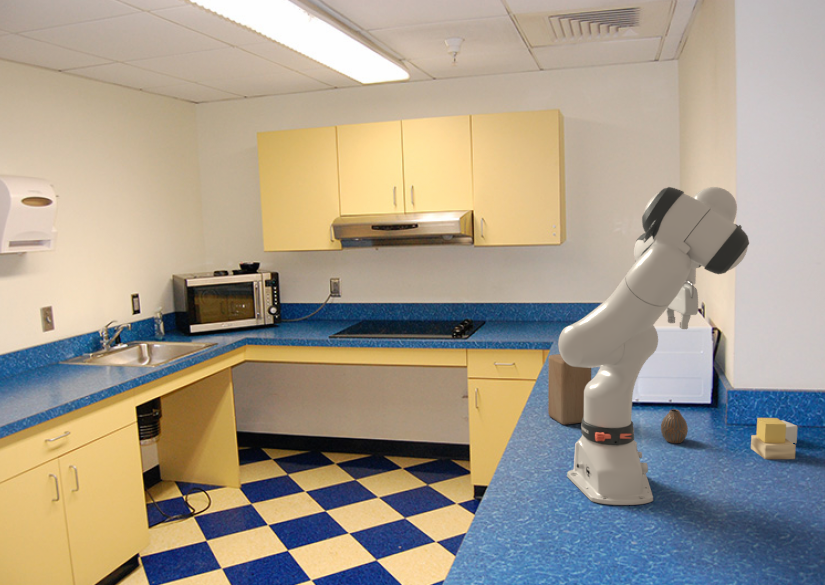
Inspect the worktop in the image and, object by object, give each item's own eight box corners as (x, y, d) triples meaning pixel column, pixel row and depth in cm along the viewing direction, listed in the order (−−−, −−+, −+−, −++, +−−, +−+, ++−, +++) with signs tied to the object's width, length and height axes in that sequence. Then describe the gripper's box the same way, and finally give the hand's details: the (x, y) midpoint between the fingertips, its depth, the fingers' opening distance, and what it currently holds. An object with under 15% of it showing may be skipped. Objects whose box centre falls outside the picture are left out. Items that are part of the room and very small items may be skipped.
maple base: (794, 460, 164) (795, 445, 163) (765, 460, 164) (765, 445, 164) (779, 449, 171) (780, 434, 171) (750, 449, 172) (751, 435, 171)
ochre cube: (785, 443, 165) (786, 424, 164) (764, 442, 165) (765, 423, 165) (776, 436, 170) (777, 418, 169) (756, 435, 170) (757, 417, 170)
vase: (665, 434, 183) (666, 405, 182) (690, 439, 179) (691, 409, 178) (657, 441, 178) (657, 411, 177) (682, 447, 174) (683, 416, 172)
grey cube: (796, 443, 174) (797, 425, 174) (781, 445, 173) (782, 427, 173) (782, 437, 179) (782, 420, 179) (767, 439, 178) (767, 422, 178)
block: (562, 426, 192) (563, 361, 190) (547, 416, 202) (547, 354, 200) (592, 422, 195) (592, 358, 193) (575, 412, 205) (575, 351, 202)
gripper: (705, 281, 170) (703, 332, 172) (676, 273, 190) (675, 319, 192) (681, 282, 170) (679, 332, 172) (655, 274, 191) (654, 320, 192)
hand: (677, 325), depth 182 cm, fingers open, 8 cm apart
